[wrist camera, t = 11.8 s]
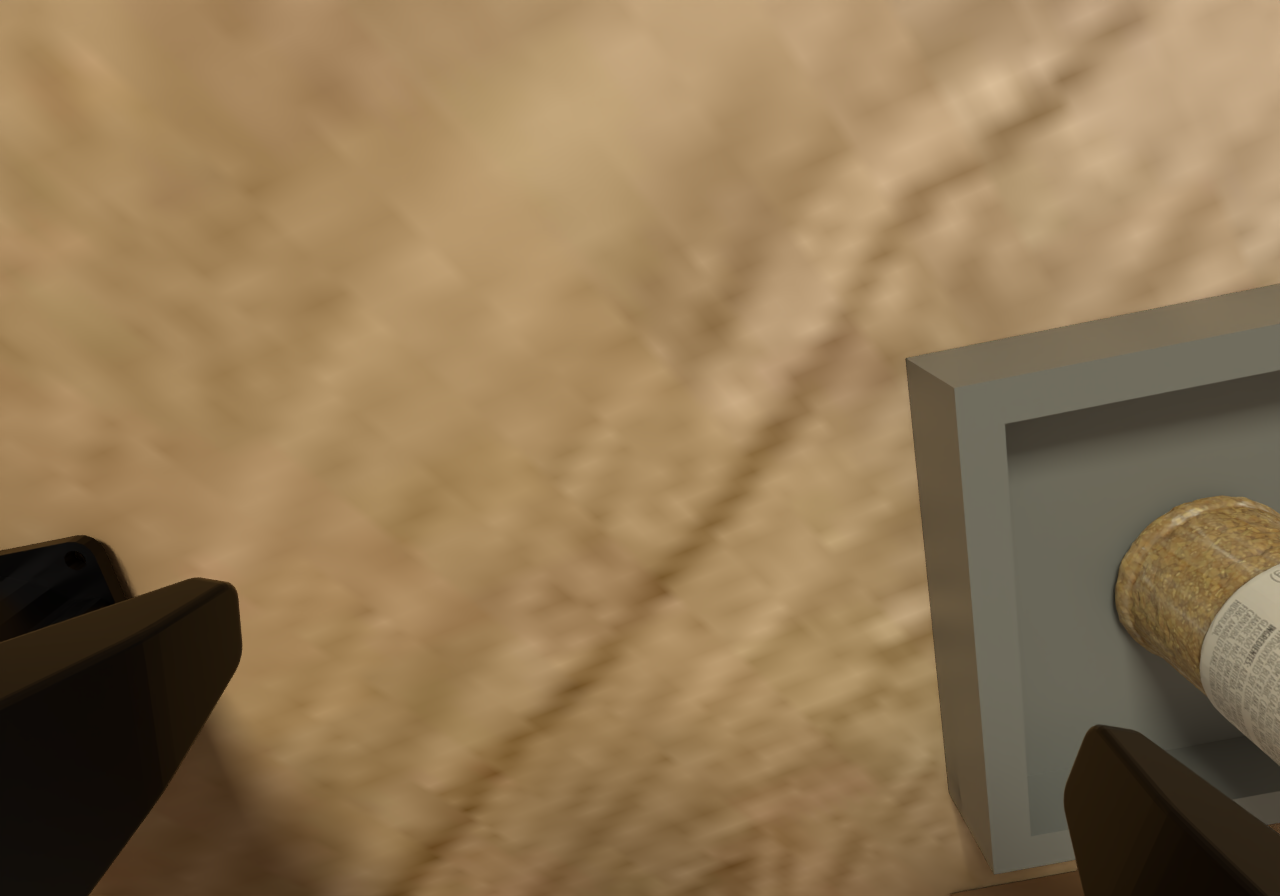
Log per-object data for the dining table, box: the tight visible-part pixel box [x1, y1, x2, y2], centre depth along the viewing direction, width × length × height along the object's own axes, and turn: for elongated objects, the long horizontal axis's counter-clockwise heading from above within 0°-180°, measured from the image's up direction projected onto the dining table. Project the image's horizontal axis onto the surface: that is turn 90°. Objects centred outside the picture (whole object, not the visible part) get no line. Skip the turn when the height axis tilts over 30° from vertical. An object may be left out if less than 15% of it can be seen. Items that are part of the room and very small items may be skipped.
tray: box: [906, 284, 1280, 874], centre depth 21 cm, size 13×13×3 cm
